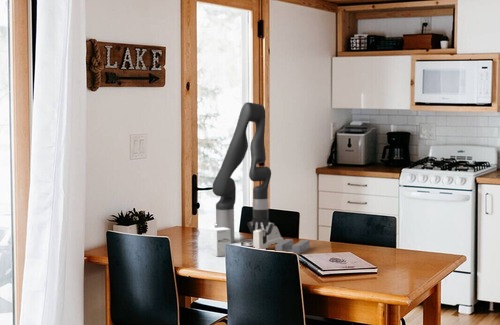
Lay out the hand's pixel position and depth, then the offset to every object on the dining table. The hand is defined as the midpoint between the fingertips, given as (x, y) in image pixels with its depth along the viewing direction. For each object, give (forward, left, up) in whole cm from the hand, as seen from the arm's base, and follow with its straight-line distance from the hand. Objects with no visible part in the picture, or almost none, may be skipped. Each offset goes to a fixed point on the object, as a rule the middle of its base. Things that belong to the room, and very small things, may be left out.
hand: (260, 243), depth 387 cm
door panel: (0, 0, -3) cm, 3 cm away
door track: (+15, +3, -3) cm, 16 cm away
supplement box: (-14, -17, -4) cm, 22 cm away
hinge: (-3, +19, -4) cm, 19 cm away
